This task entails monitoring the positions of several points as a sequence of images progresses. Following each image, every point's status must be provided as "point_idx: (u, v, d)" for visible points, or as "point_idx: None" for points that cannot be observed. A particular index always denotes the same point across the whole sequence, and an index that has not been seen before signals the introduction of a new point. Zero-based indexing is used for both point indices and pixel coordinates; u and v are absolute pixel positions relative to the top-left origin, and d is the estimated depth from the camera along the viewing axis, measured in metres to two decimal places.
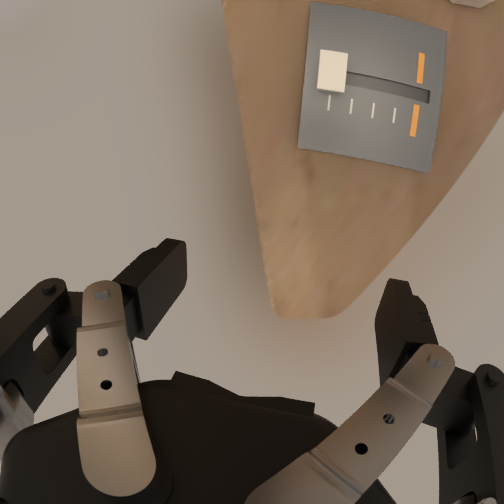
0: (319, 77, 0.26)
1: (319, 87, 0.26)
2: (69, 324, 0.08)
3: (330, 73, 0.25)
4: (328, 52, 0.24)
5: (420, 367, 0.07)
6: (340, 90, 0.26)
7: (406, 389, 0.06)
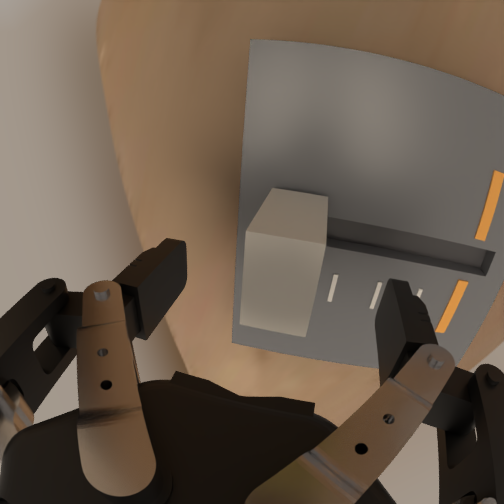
0: (244, 302, 0.12)
1: (245, 323, 0.12)
2: (69, 324, 0.08)
3: (272, 296, 0.11)
4: (268, 240, 0.10)
5: (420, 367, 0.07)
6: (296, 333, 0.12)
7: (406, 389, 0.06)
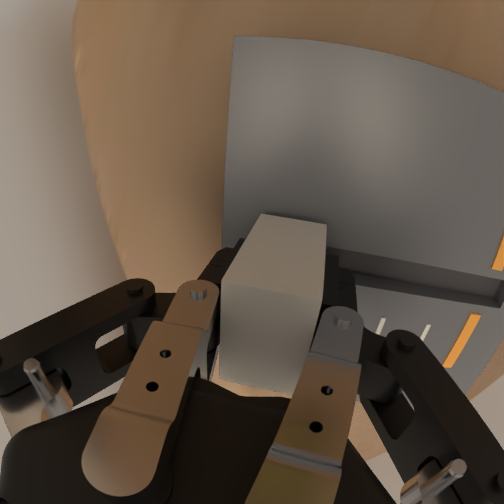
0: (224, 358, 0.09)
1: (226, 378, 0.10)
2: None
3: (256, 353, 0.09)
4: (249, 292, 0.08)
5: (322, 324, 0.08)
6: (285, 391, 0.10)
7: (330, 357, 0.06)
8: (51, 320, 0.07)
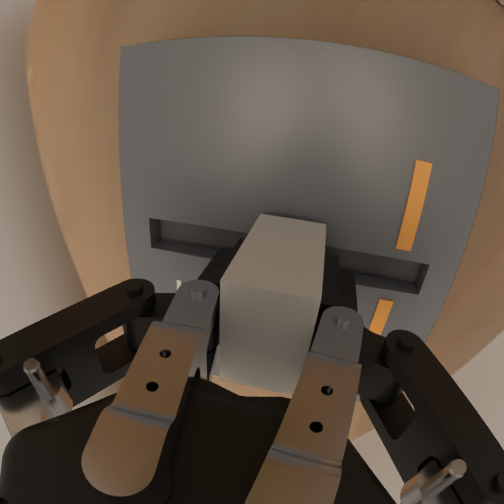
0: (223, 358, 0.09)
1: (226, 378, 0.10)
2: None
3: (256, 353, 0.09)
4: (249, 292, 0.08)
5: (322, 324, 0.08)
6: (285, 390, 0.10)
7: (330, 357, 0.06)
8: (51, 320, 0.07)
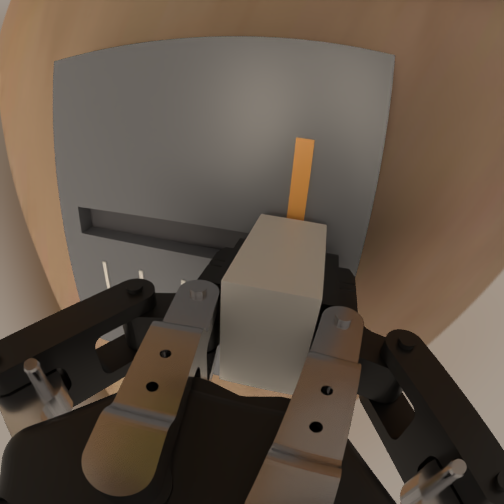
0: (224, 358, 0.09)
1: (226, 378, 0.10)
2: None
3: (256, 353, 0.09)
4: (249, 293, 0.08)
5: (321, 324, 0.08)
6: (285, 391, 0.10)
7: (329, 357, 0.06)
8: (51, 320, 0.07)
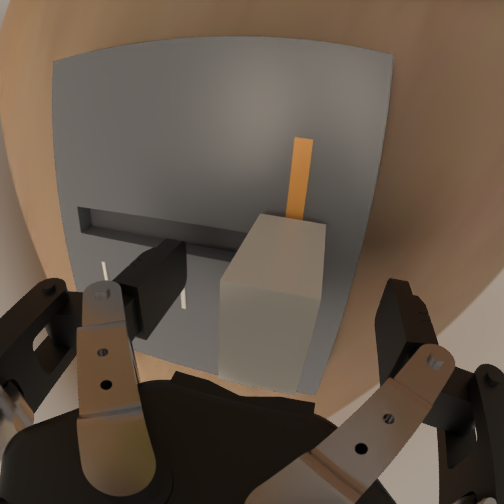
0: (223, 358, 0.09)
1: (225, 378, 0.10)
2: (69, 324, 0.08)
3: (255, 353, 0.09)
4: (248, 292, 0.08)
5: (420, 367, 0.07)
6: (284, 390, 0.10)
7: (406, 389, 0.06)
8: None
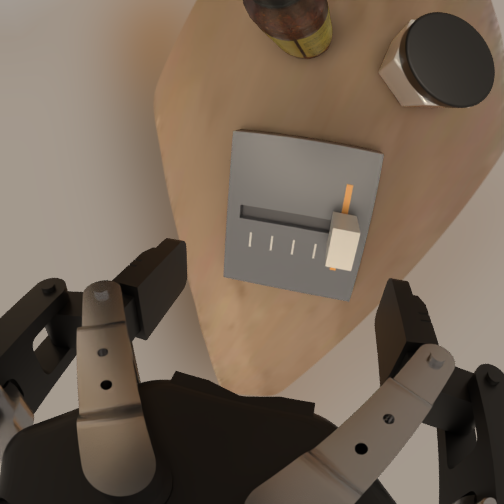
0: (328, 256, 0.30)
1: (327, 265, 0.30)
2: (69, 324, 0.08)
3: (339, 253, 0.29)
4: (340, 231, 0.28)
5: (420, 367, 0.07)
6: (347, 269, 0.30)
7: (406, 389, 0.06)
8: None
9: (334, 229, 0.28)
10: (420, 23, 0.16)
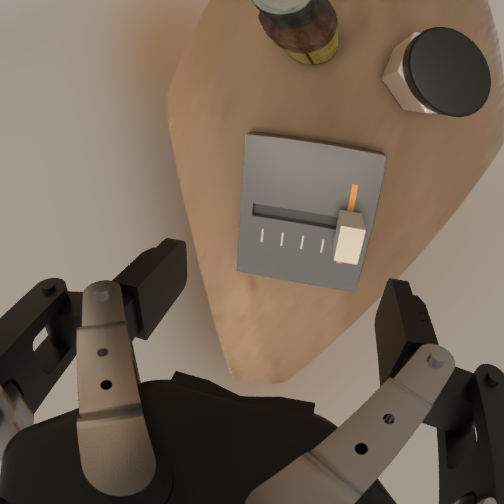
0: (336, 251, 0.32)
1: (335, 260, 0.32)
2: (69, 324, 0.08)
3: (347, 248, 0.32)
4: (347, 228, 0.31)
5: (420, 367, 0.07)
6: (354, 263, 0.32)
7: (406, 389, 0.06)
8: None
9: (342, 227, 0.31)
10: (422, 38, 0.18)
